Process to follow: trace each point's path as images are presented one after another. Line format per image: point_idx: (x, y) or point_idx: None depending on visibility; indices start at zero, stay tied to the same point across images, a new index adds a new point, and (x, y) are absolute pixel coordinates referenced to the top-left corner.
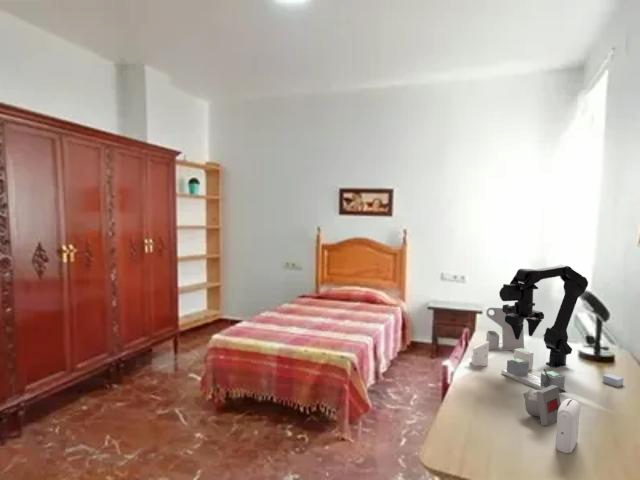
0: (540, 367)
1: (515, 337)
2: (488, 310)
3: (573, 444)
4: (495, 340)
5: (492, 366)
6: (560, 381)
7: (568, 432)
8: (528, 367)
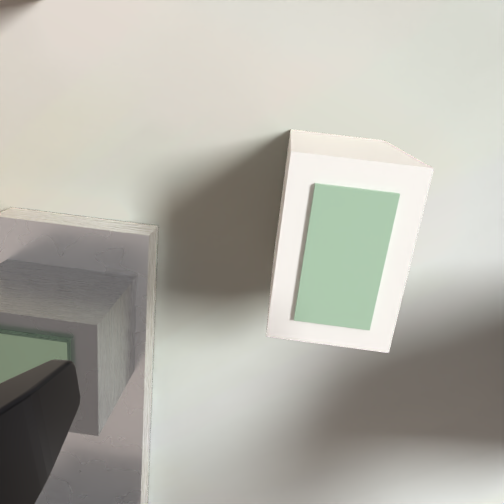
0: (469, 281)
1: (24, 380)
2: None
3: None
4: None
5: (75, 38)
6: None
7: None
8: (115, 402)
